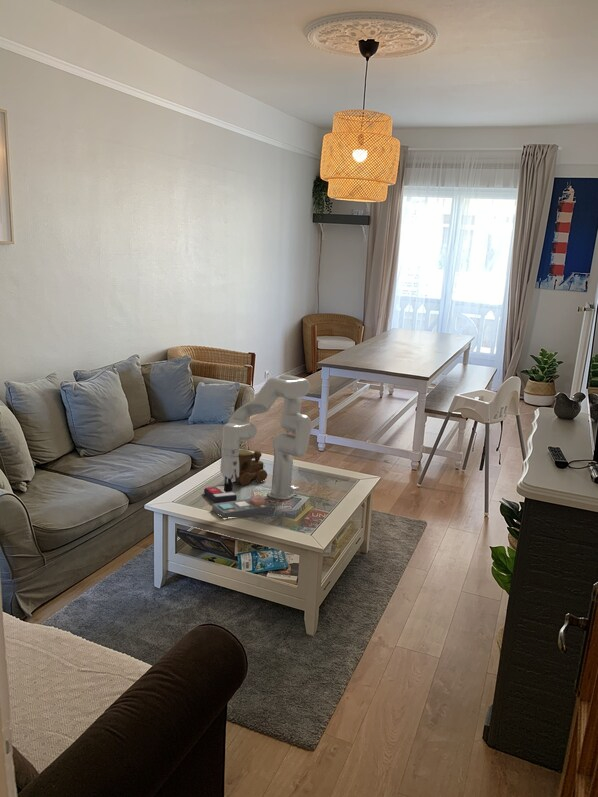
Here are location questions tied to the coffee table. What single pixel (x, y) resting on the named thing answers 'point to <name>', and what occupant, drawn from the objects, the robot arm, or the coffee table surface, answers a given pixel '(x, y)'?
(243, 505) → the cream key
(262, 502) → the terracotta key
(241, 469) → the wooden toy train
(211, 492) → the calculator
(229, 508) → the teal key
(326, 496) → the coffee table surface
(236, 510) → the dark grey flat block
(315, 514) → the coffee table surface
